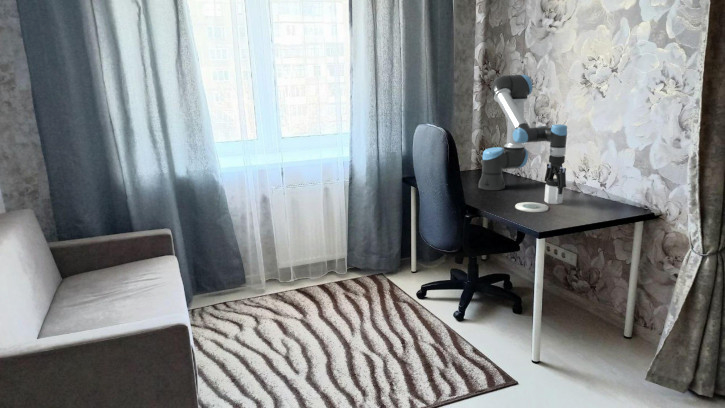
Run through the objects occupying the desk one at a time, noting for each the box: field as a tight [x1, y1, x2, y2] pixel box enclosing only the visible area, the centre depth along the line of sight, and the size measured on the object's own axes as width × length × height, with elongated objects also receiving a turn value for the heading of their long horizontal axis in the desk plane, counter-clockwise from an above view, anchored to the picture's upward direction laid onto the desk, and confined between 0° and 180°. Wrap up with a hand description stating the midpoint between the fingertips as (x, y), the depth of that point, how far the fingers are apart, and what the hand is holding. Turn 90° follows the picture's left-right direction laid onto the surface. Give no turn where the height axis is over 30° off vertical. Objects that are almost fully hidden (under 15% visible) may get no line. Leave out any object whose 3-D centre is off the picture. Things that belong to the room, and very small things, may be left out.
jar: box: [544, 177, 565, 205], centre depth 258 cm, size 9×8×12 cm
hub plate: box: [514, 201, 549, 213], centre depth 250 cm, size 16×16×1 cm
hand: (553, 197), depth 258 cm, fingers closed on jar, 9 cm apart
